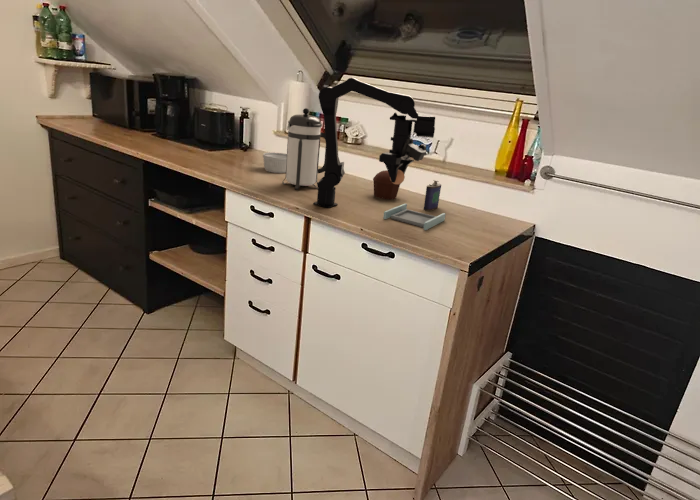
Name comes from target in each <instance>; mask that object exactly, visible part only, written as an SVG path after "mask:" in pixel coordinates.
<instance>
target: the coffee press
mask: <svg viewBox="0 0 700 500" xmlns="http://www.w3.org/2000/svg"><path fill="white" fill-rule="evenodd" d="M302 113H303V114H294V115H291V117H290V118H289V120H288V121H287V122H288V125H287V127H286V130H287V145H286V146H287V149H286V154H287V161H286V173H285V178H284V179H283V180H282V185H286V184H287V183H289V184H291V185H294V186H295V187H294V190H296V191H299V190H300V187H301V186H302V187H304V186H308V187H309V186H313V187H314V188H315V189H317V190H318V186H317V185H315V184H317V183H318V182H319V181H318V174H323V173H325V166H326V160H327V155H326V148H325V149H324V150H325V152H324V163H323V165H322V166H321V168H319V163H320V162H319V161H320V160H319V159H320V151H321V150H320V148H321V138H323V139H324V141H325V142H326V139H325V132H321V129H322V127H323V123H322V122H321V120H320V118H318V117H317V116H314V115H310V114H309V113H310V111H309V108H307V107H305V108H303V110H302ZM285 180H286V181H287V182H284V181H285Z"/></svg>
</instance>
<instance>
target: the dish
mask: <svg viewBox="0 0 700 500" xmlns="http://www.w3.org/2000/svg"><path fill="white" fill-rule="evenodd" d="M436 216H437V215H433V214H428V213H424V212H419V211H416V210H412V209H408V208H406V210H403V211H401V212H398V213H396V214H393V215H391V217H390V220H393V221H396V222H397V221H398V222H402V223H405V224H409V225H412V226H415V227H420V228H424V224H425V222H426V221H428V220H430V219H432V218H434V217H436Z"/></svg>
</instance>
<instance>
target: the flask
mask: <svg viewBox="0 0 700 500" xmlns="http://www.w3.org/2000/svg"><path fill="white" fill-rule="evenodd" d="M441 189H442V184H441V183H439V181H438V180H435V179H433V182H432V183H431V184H427V185H426V188H425V197H424V203H423V211H426V212H427V211H434V210H435V209H437V208H438V207H439V202H440V194H441Z"/></svg>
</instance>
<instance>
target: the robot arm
mask: <svg viewBox="0 0 700 500" xmlns="http://www.w3.org/2000/svg"><path fill="white" fill-rule="evenodd" d="M351 92H354V93H356V94H359V95H362V96H365V97H368V98H370V99H373V100H376V101H378V102H381V103H384V104H385V105H386V106H389V107H390V108H392V109H393V110H395V112H393V114H392V115H390V117H389V120H390V121H394V127H393V128H394V129H393V136H391V137H390V141H392V146H391V149H389V150H388V151H385V152H382V153H381V154H380V155H379V158H378V161H379V162H380V163H383V164H385V167H386V169H387V170H388V173H389V176H390V179H391V182H393V183H395V181H396V177H397V173H398V170H401V171H402V172H403V173H404V175H406V174H405V173H406V171H407V168H408V166H409V165H410V164H412V163H413V162H414V161H416V162H419V161H423V159H424V157H425V156H426V155H427V146H426V145H425V144H423V143H422V144H419V145H418V144H414V138H412V133H413V134H415V135H416V137H423V138H432V139H433V138H434V136H435V130H436V126H435V125H436V116H434V115H428V116H427V115H419V112H418V111H417V110H416V108H415V107H416V106H415V105H416V104H415V100H414V98H413V97H412V96H411V95H409V94H403V93H398V92H392V91H388V90H385V89H383V88H380V87H378V86H375V85H373V84H369V83H367V82H364V81H361V80H359V79H357V78H355V77H349V78H348V79H346V80H345V81H343V82H340V83H339V84H336V85H334V86H327V87H323V88H321V90H320V91H319V92H318V101H319V104H320V105H319V106H320V109H321V112H322V116H323V121H324V123H323V124H324V133H325V139H326V141H325V149H326V155H327V160H326V166H325V171H324V172H323V173H324V174H323V175H324V176H322V177H321V178H320V179H319V181H317V182H318V183H317V182H316V187H317V188H318V189H317V196H316V197H317V198H316V201H313V202H312V204H313V205H316V206H319V207H322V208H326V209H329V208H332V207H336V206H338V203H336V202H335V200H336V189H337V188H336V187H337V186H338V185H339V184H340V183H341V181H342V179H343V178H344V176H345V174H346V173H345V170H344V168H345V167H344V165H345V161H342V162H341V161H340V158H339V144H338V143H339V141H338V127H337V112H338V106H339V98H341V97H343V96H345V95H347V94H348V93H351ZM396 111H397V112H399V113H401V114H397V112H396ZM407 115H408V116H409V117H410V118H407ZM413 123H414V125H413ZM412 129H413V130H412ZM412 131H413V132H412ZM325 139H324V140H325ZM411 158H412V159H411Z"/></svg>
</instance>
